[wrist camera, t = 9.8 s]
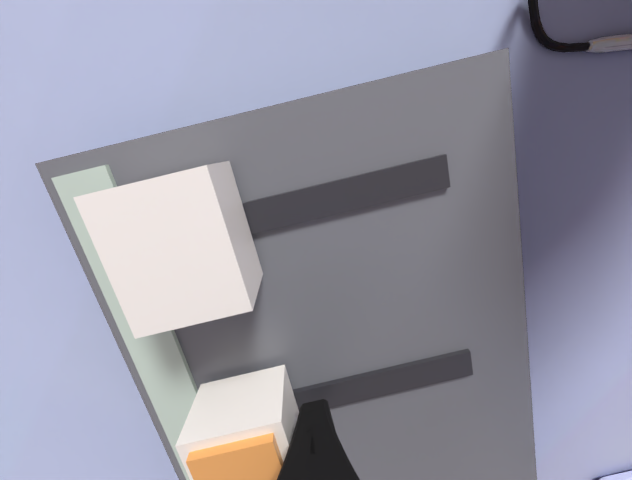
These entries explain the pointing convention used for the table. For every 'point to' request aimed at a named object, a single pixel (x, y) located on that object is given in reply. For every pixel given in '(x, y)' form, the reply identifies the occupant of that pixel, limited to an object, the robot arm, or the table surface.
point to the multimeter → (591, 46)
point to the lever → (175, 248)
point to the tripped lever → (239, 427)
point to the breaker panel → (355, 268)
